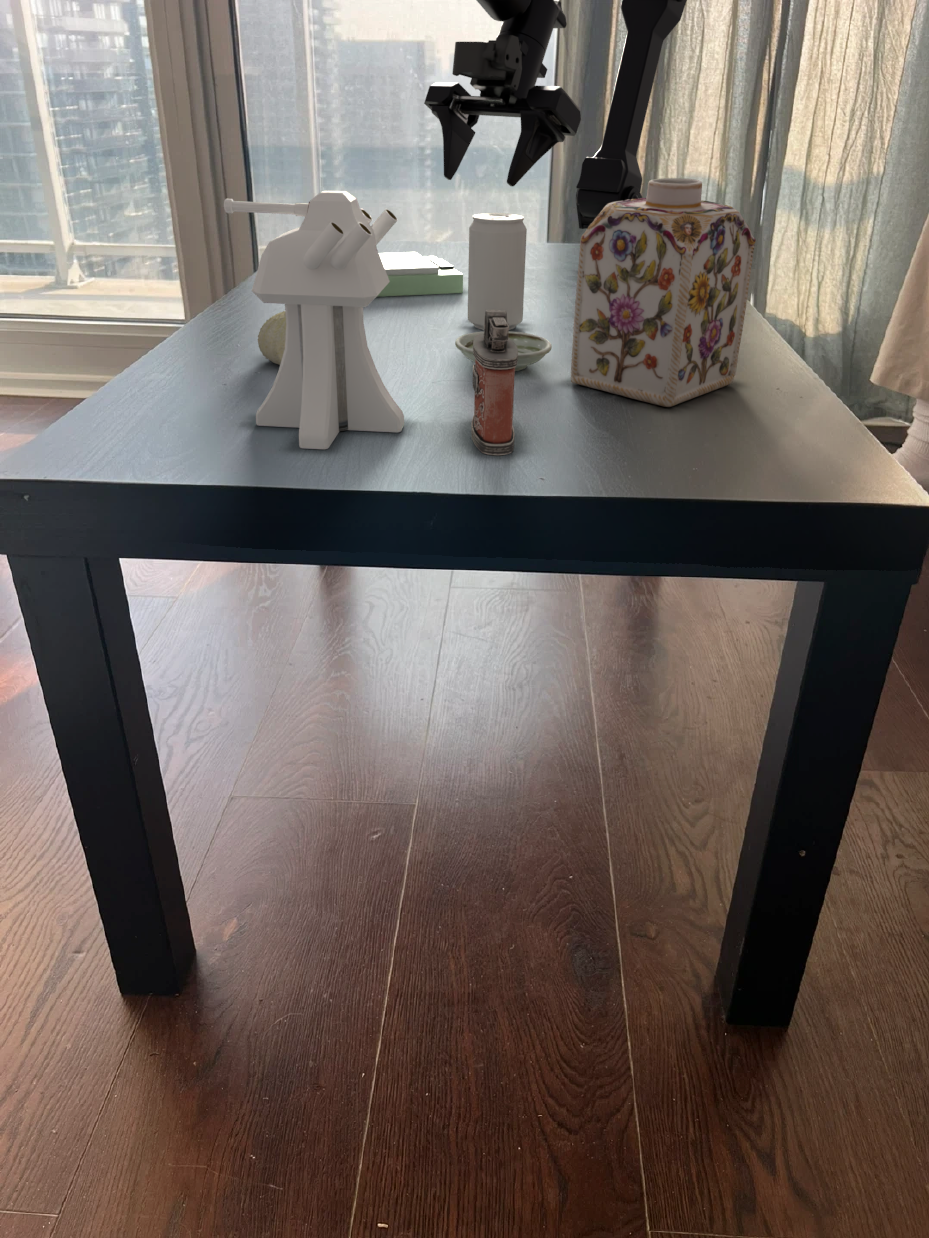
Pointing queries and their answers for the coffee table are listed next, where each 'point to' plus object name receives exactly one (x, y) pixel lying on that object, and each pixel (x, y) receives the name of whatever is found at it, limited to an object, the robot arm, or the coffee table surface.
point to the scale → (419, 275)
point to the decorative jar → (661, 295)
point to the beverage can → (496, 267)
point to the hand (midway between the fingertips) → (477, 181)
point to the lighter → (494, 386)
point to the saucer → (527, 344)
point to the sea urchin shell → (273, 338)
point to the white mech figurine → (325, 318)
